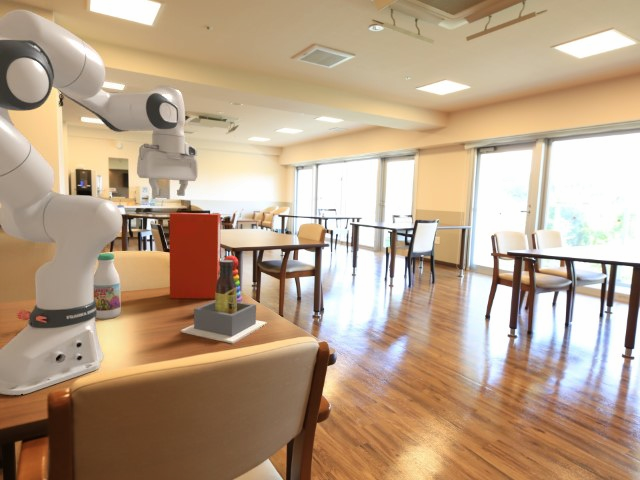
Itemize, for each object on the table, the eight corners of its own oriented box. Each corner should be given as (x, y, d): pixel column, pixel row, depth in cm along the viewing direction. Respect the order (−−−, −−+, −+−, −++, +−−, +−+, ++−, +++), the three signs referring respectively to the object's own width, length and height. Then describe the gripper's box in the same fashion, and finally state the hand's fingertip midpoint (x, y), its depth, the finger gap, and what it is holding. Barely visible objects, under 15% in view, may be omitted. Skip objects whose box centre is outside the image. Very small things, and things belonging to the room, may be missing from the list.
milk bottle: (94, 313, 125) (92, 252, 122) (120, 311, 128) (119, 251, 126) (92, 320, 118) (90, 256, 115) (121, 318, 121) (119, 255, 119)
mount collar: (232, 343, 105) (233, 320, 104) (181, 332, 112) (181, 310, 111) (266, 324, 121) (267, 303, 121) (219, 315, 128) (219, 295, 127)
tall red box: (175, 293, 152) (174, 212, 148) (219, 293, 154) (220, 213, 151) (169, 298, 144) (169, 213, 140) (216, 299, 146) (217, 215, 143)
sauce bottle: (231, 330, 113) (231, 263, 111) (211, 328, 114) (211, 262, 112) (239, 322, 120) (239, 259, 117) (220, 321, 120) (220, 258, 118)
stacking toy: (219, 304, 140) (219, 253, 138) (241, 303, 142) (242, 253, 140) (219, 311, 132) (220, 257, 130) (243, 310, 135) (244, 257, 132)
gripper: (148, 142, 100) (149, 195, 102) (201, 151, 119) (201, 196, 120) (130, 142, 102) (131, 194, 104) (185, 151, 121) (185, 195, 123)
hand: (169, 195), depth 112 cm, fingers open, 8 cm apart
